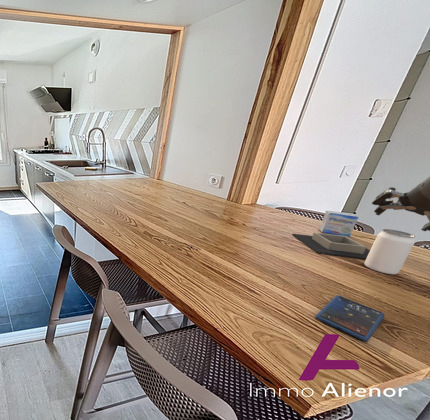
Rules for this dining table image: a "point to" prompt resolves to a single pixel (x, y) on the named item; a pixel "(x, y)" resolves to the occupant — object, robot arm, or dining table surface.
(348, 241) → the pad
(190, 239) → the dining table surface
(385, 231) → the can
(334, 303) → the smartphone
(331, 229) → the medicine box
